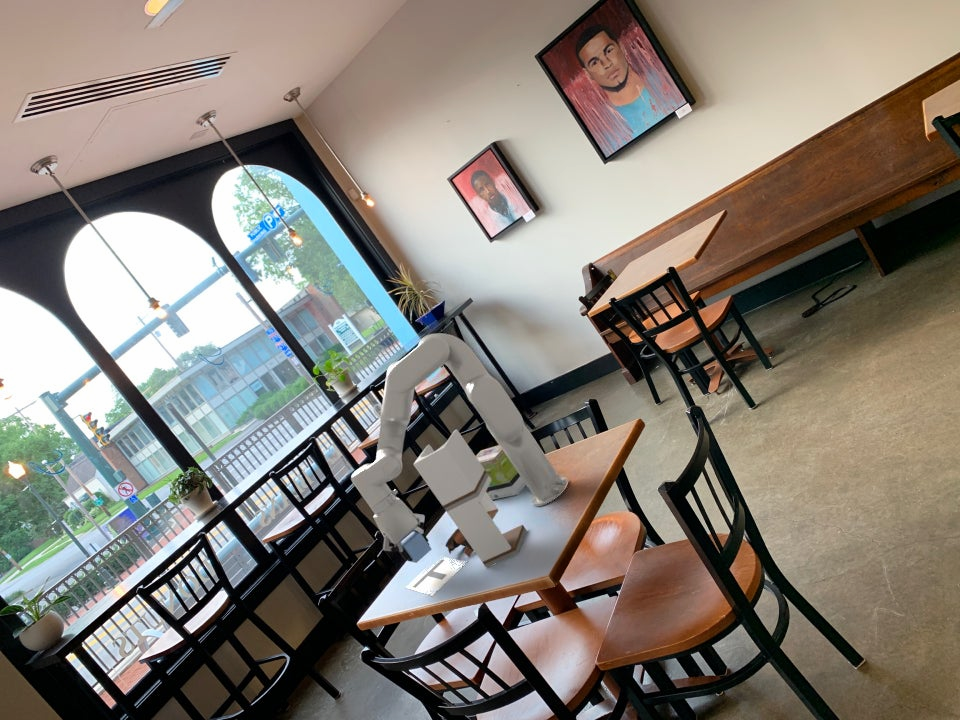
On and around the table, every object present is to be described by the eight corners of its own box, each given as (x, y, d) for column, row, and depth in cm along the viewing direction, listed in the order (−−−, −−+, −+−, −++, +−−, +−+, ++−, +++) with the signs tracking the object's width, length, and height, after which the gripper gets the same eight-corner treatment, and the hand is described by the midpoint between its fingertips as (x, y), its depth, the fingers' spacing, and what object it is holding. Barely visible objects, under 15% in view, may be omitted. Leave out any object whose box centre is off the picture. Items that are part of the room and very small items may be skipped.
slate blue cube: (431, 549, 212) (420, 532, 211) (416, 562, 209) (404, 546, 208) (423, 547, 217) (412, 531, 216) (408, 561, 214) (397, 544, 213)
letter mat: (467, 562, 208) (467, 561, 208) (432, 596, 202) (431, 595, 202) (439, 556, 226) (438, 556, 226) (405, 587, 219) (405, 587, 219)
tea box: (488, 502, 243) (463, 466, 241) (504, 484, 250) (480, 449, 248) (518, 495, 232) (492, 458, 230) (534, 476, 239) (509, 440, 237)
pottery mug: (462, 565, 210) (441, 547, 212) (466, 566, 219) (445, 548, 221) (488, 531, 212) (466, 513, 214) (491, 534, 221) (470, 517, 223)
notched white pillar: (518, 553, 193) (444, 447, 188) (486, 568, 197) (413, 464, 192) (526, 530, 203) (456, 429, 198) (496, 544, 207) (426, 445, 202)
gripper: (401, 485, 217) (434, 533, 220) (356, 522, 209) (391, 571, 212) (411, 484, 211) (445, 534, 213) (365, 523, 203) (401, 574, 205)
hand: (418, 552), depth 213 cm, fingers closed on slate blue cube, 6 cm apart
